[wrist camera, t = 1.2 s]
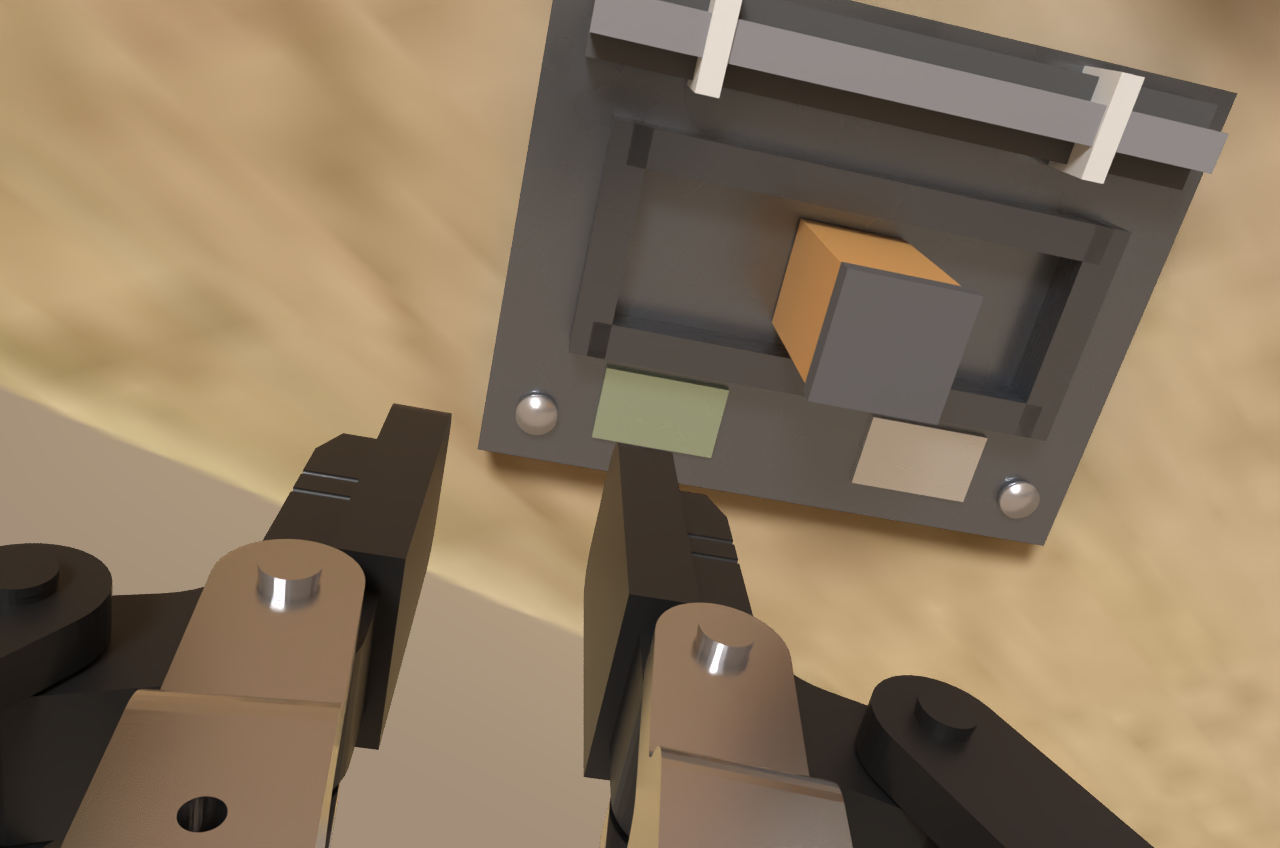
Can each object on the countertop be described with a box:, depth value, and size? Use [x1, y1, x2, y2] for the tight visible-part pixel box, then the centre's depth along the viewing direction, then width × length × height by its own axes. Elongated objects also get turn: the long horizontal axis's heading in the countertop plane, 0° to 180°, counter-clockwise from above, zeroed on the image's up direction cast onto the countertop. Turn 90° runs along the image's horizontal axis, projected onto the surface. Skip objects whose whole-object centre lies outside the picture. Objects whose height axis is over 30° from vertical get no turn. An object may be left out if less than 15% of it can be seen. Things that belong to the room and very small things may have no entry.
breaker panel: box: [478, 0, 1237, 546], centre depth 28 cm, size 18×14×3 cm
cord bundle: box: [585, 0, 1228, 190], centre depth 25 cm, size 16×3×2 cm, turn 78°
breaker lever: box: [772, 219, 984, 425], centre depth 25 cm, size 3×3×6 cm
